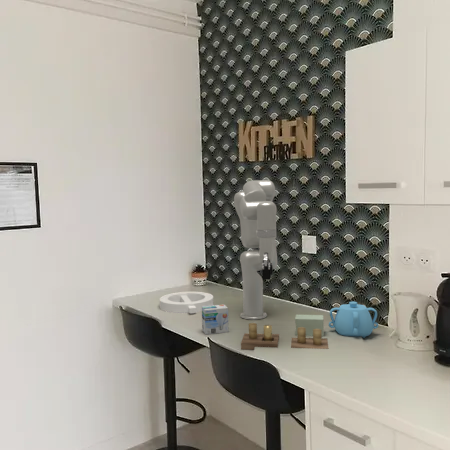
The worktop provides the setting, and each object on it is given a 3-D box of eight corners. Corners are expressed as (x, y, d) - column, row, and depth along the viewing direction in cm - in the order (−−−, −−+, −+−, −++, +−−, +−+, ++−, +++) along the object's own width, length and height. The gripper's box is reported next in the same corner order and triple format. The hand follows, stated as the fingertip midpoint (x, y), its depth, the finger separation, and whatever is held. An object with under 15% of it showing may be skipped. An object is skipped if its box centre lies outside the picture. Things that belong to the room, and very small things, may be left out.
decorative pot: (353, 343, 192) (353, 309, 190) (325, 332, 205) (324, 301, 204) (382, 336, 200) (382, 303, 198) (353, 326, 214) (353, 295, 212)
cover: (296, 333, 206) (295, 314, 205) (323, 333, 204) (323, 315, 203) (295, 338, 200) (295, 319, 199) (323, 339, 198) (323, 319, 197)
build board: (244, 339, 200) (244, 320, 199) (279, 340, 198) (278, 320, 197) (241, 349, 188) (240, 329, 187) (277, 350, 186) (277, 329, 185)
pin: (264, 344, 193) (263, 324, 193) (272, 344, 193) (272, 324, 192) (263, 346, 190) (263, 326, 190) (271, 347, 190) (271, 327, 189)
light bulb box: (205, 334, 207) (204, 309, 206) (201, 330, 214) (200, 306, 213) (229, 332, 210) (228, 307, 209) (225, 327, 217) (224, 303, 216)
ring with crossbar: (193, 316, 238) (193, 306, 237) (148, 310, 252) (148, 300, 252) (223, 303, 262) (223, 294, 261) (180, 298, 276) (180, 289, 276)
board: (291, 340, 197) (291, 324, 196) (327, 341, 195) (327, 324, 194) (290, 350, 185) (290, 333, 184) (328, 351, 183) (328, 334, 182)
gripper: (259, 231, 202) (260, 272, 203) (254, 236, 185) (256, 281, 186) (277, 231, 200) (278, 272, 202) (274, 236, 183) (275, 281, 185)
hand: (267, 276), depth 194 cm, fingers open, 9 cm apart
